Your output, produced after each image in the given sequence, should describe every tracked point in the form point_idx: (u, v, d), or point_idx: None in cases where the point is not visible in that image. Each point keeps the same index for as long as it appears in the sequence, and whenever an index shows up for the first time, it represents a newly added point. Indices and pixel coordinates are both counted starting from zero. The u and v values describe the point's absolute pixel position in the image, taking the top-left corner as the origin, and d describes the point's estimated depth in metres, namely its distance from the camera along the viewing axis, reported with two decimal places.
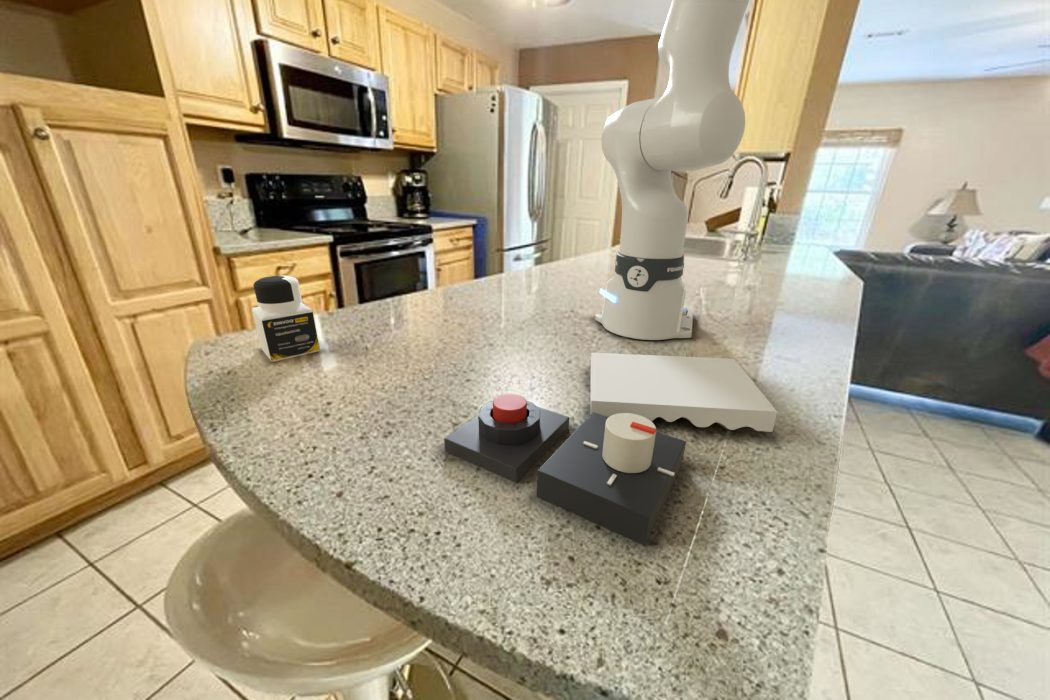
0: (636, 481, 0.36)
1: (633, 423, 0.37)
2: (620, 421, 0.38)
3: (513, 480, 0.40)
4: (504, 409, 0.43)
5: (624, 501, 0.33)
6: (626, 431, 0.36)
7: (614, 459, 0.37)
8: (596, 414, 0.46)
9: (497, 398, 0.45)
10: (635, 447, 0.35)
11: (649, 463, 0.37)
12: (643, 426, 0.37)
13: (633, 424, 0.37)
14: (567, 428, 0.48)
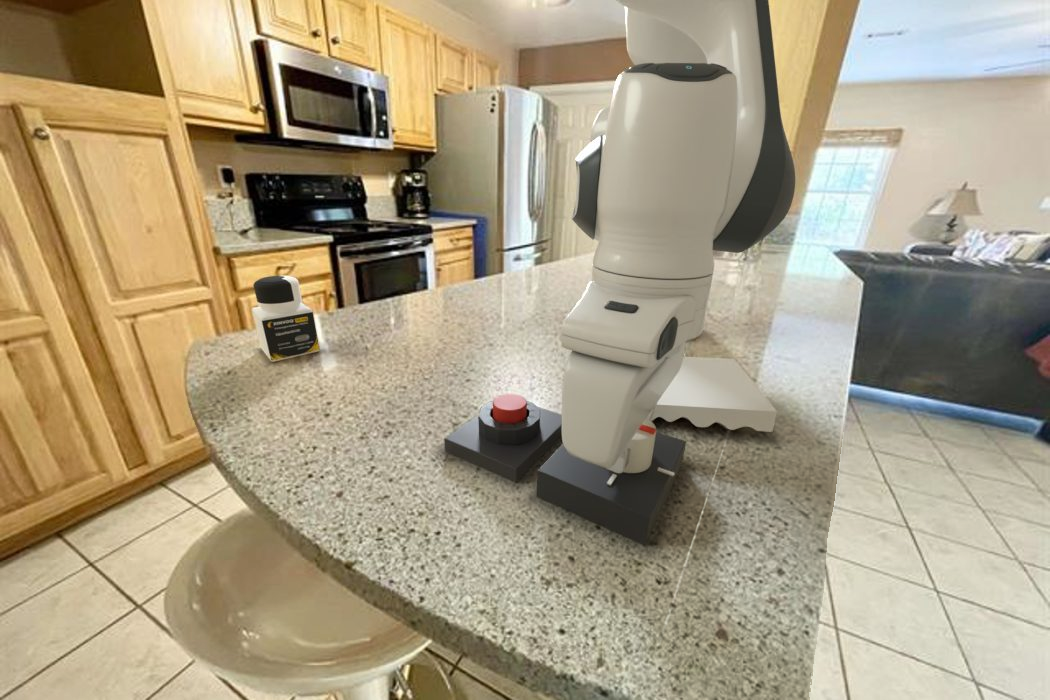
0: (636, 481, 0.36)
1: None
2: None
3: (513, 480, 0.40)
4: (504, 409, 0.43)
5: (624, 501, 0.33)
6: None
7: None
8: None
9: (497, 398, 0.45)
10: (635, 447, 0.35)
11: (649, 463, 0.37)
12: (643, 426, 0.37)
13: None
14: None
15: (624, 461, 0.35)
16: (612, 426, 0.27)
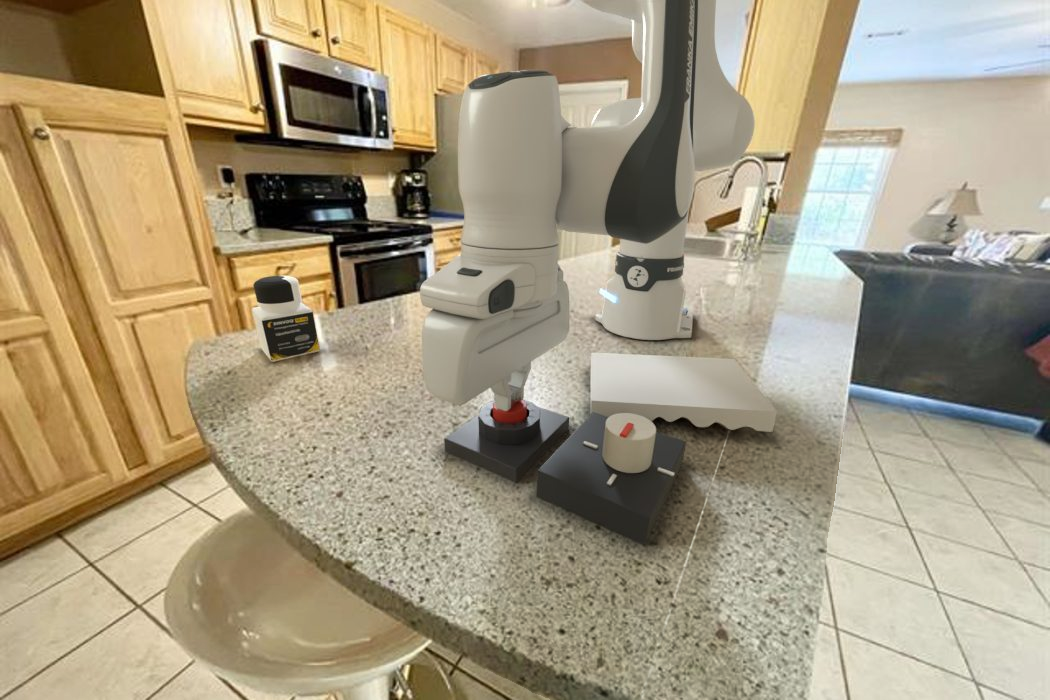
0: (636, 481, 0.36)
1: (630, 423, 0.37)
2: (635, 420, 0.38)
3: (513, 480, 0.40)
4: (504, 411, 0.43)
5: (624, 501, 0.33)
6: (619, 421, 0.38)
7: None
8: (596, 414, 0.46)
9: None
10: (605, 433, 0.37)
11: (616, 466, 0.37)
12: (626, 428, 0.36)
13: (628, 423, 0.37)
14: (567, 428, 0.48)
15: (508, 400, 0.42)
16: (455, 367, 0.33)
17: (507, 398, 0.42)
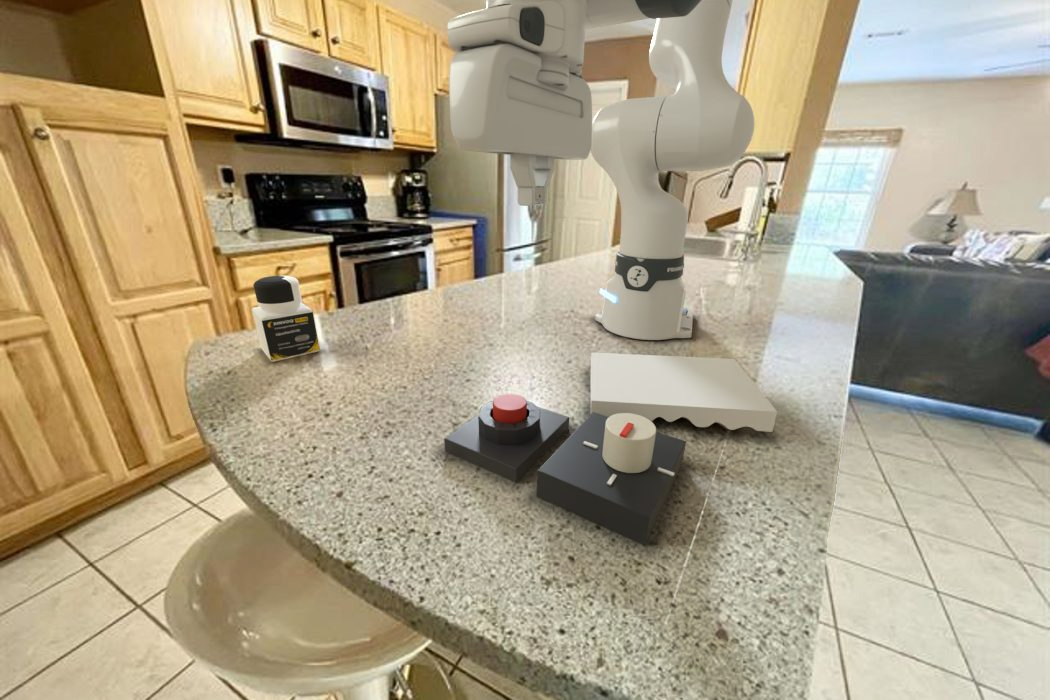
0: (636, 481, 0.36)
1: (630, 423, 0.37)
2: (635, 420, 0.38)
3: (513, 480, 0.40)
4: (504, 409, 0.43)
5: (624, 501, 0.33)
6: (619, 421, 0.38)
7: None
8: (596, 414, 0.46)
9: (497, 398, 0.45)
10: (605, 433, 0.37)
11: (616, 466, 0.37)
12: (626, 428, 0.36)
13: (628, 423, 0.37)
14: (567, 428, 0.48)
15: (533, 192, 0.41)
16: (484, 94, 0.32)
17: (531, 189, 0.41)
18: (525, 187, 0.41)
